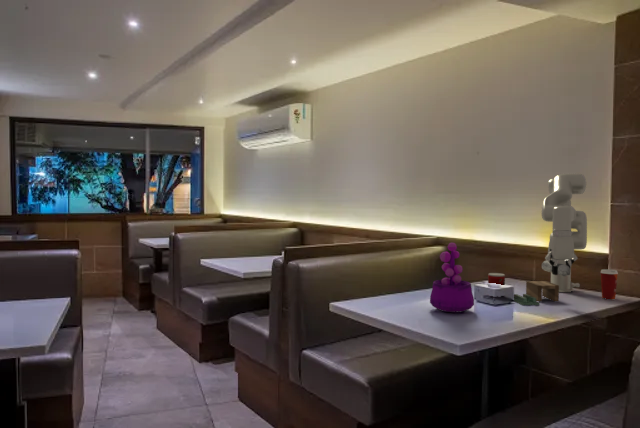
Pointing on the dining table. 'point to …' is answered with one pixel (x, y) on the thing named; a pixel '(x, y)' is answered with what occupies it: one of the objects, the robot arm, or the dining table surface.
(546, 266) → the grey oblong lump
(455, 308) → the decorative plant
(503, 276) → the canned food
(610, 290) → the paper cup
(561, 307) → the dining table surface
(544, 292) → the wooden box
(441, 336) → the dining table surface
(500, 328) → the dining table surface
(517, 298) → the cradle
